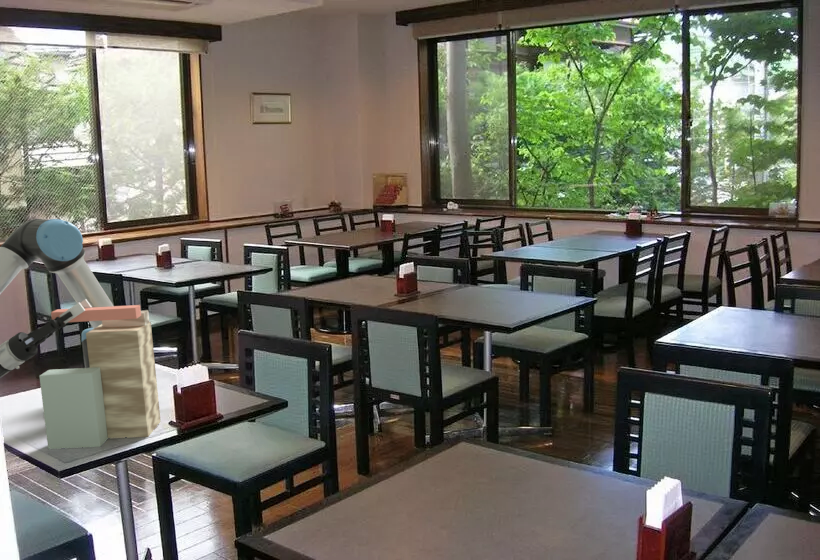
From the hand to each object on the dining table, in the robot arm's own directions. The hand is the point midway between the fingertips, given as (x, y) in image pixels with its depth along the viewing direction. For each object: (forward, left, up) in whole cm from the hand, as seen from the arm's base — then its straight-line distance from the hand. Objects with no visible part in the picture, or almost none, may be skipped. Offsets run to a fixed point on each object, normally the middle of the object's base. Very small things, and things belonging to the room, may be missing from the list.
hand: (85, 304), depth 231 cm
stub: (0, +3, -4) cm, 5 cm away
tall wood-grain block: (-3, +7, -37) cm, 38 cm away
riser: (+6, -4, -37) cm, 38 cm away
